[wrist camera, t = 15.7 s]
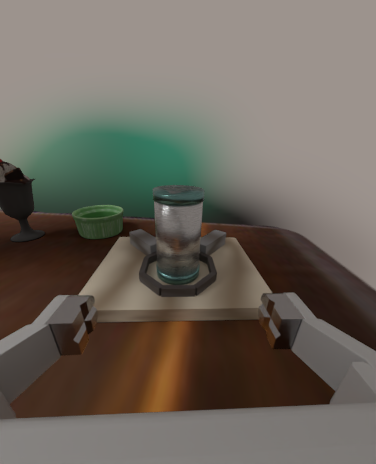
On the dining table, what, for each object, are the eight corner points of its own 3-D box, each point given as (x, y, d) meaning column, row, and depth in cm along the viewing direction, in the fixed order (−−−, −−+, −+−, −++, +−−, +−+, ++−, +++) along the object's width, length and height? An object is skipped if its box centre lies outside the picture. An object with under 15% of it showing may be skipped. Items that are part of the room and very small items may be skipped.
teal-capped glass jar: (149, 267, 23) (144, 187, 19) (184, 256, 26) (186, 184, 22) (169, 291, 19) (168, 196, 15) (207, 275, 22) (215, 191, 18)
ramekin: (85, 246, 31) (80, 222, 30) (70, 230, 37) (65, 209, 35) (133, 232, 37) (131, 211, 35) (114, 221, 43) (111, 202, 41)
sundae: (10, 232, 35) (-23, 146, 29) (52, 227, 38) (30, 148, 32) (-4, 247, 30) (-47, 145, 24) (47, 240, 33) (19, 147, 27)
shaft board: (70, 322, 17) (61, 293, 16) (120, 244, 32) (118, 226, 30) (278, 319, 18) (287, 291, 17) (233, 245, 33) (236, 227, 32)
